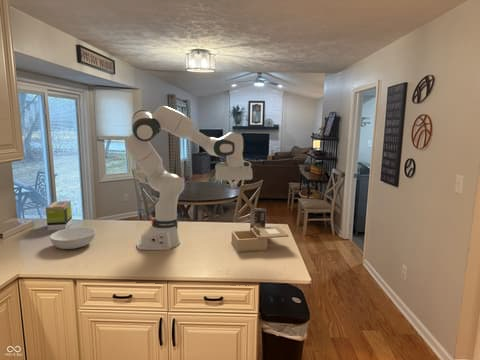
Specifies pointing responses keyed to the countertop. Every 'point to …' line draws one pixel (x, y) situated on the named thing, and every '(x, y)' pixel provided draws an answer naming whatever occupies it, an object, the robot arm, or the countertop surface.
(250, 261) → the countertop surface
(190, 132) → the robot arm
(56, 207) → the tea box
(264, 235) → the lid
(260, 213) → the coffee box
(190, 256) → the countertop surface
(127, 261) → the countertop surface
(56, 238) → the serving bowl
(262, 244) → the box
